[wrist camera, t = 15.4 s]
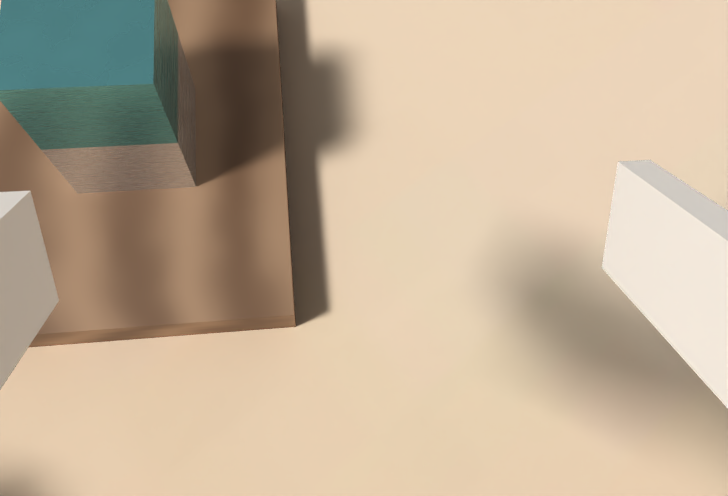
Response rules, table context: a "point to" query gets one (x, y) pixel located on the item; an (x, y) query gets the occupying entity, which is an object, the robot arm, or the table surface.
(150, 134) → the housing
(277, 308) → the walnut stand
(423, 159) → the table surface
